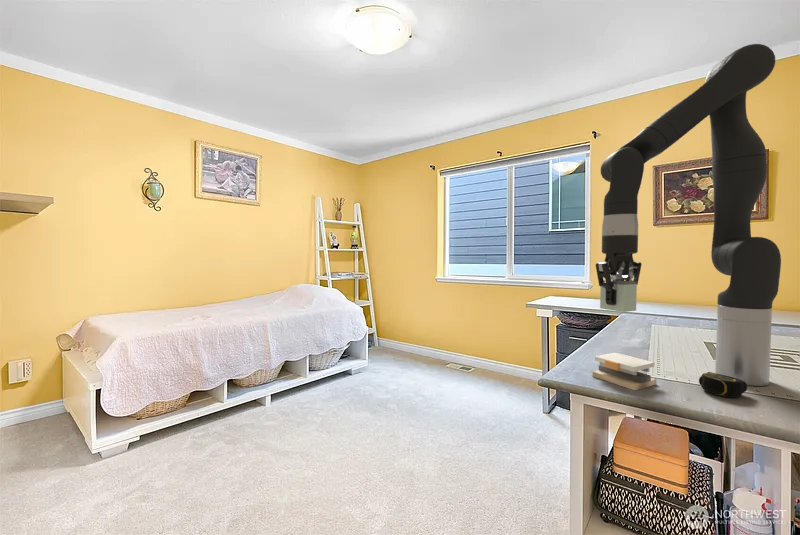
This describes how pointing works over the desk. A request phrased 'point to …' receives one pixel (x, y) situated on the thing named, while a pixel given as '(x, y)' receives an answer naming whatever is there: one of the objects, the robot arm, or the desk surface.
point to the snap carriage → (624, 363)
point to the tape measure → (722, 384)
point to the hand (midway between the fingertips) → (618, 303)
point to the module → (621, 297)
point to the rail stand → (624, 378)
